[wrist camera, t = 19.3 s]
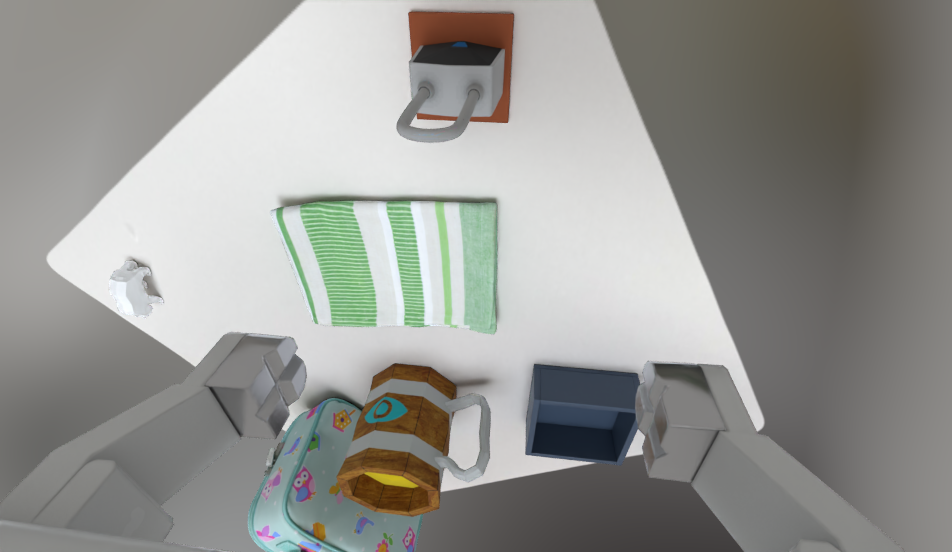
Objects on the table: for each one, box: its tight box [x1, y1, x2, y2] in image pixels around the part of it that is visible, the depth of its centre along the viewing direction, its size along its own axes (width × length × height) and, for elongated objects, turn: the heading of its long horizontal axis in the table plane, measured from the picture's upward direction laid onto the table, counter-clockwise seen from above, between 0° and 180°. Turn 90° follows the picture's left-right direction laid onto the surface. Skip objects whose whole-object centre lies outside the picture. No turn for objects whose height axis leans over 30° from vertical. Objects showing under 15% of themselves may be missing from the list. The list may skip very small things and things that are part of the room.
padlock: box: [397, 41, 505, 143], centre depth 28 cm, size 7×4×15 cm, turn 89°
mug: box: [336, 364, 491, 517], centre depth 57 cm, size 20×14×15 cm
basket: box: [525, 364, 640, 465], centre depth 58 cm, size 14×14×6 cm
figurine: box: [109, 260, 164, 319], centre depth 53 cm, size 2×8×5 cm, turn 170°
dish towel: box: [270, 201, 497, 334], centre depth 47 cm, size 18×23×3 cm
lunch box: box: [248, 398, 423, 552], centre depth 64 cm, size 27×10×21 cm, turn 37°
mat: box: [408, 12, 514, 123], centre depth 34 cm, size 8×8×1 cm
